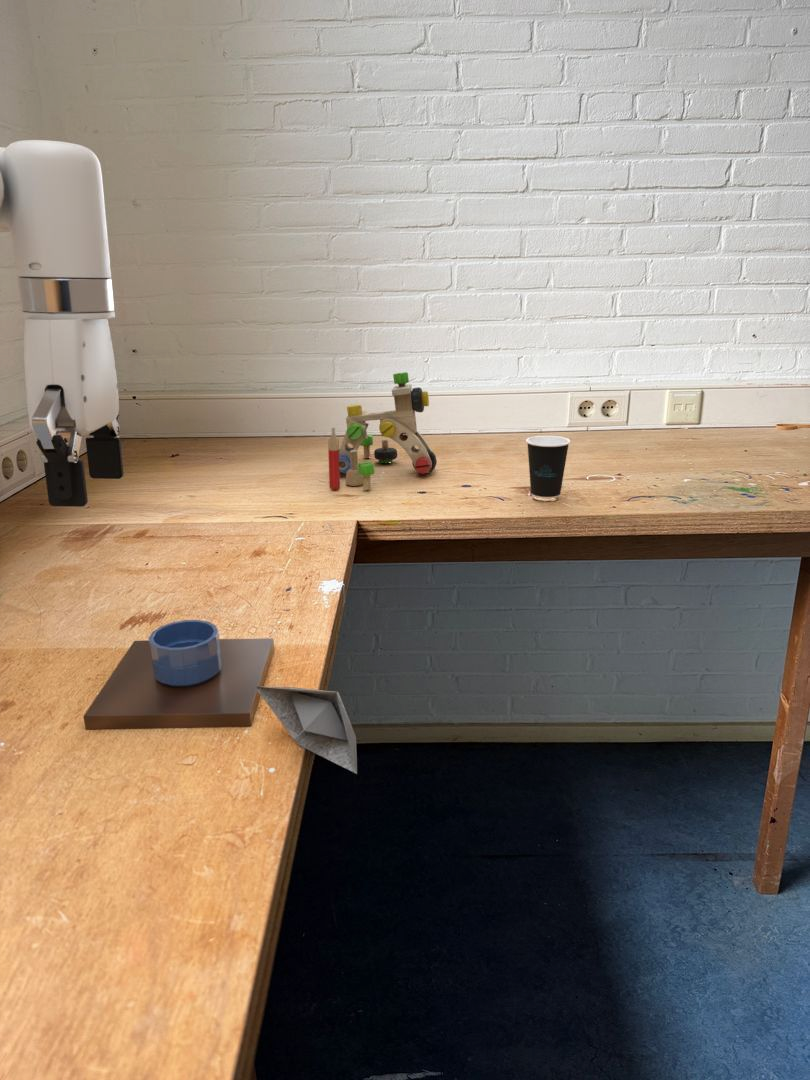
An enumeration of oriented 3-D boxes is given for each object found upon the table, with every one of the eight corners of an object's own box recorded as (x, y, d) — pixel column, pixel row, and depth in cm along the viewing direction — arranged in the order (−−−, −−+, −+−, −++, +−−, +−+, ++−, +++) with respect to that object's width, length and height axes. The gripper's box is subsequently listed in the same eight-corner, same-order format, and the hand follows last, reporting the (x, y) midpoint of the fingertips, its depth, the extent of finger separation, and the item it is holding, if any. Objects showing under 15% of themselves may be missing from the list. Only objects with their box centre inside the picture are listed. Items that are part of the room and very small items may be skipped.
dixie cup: (536, 506, 143) (539, 446, 140) (516, 494, 150) (518, 437, 147) (575, 501, 146) (578, 442, 142) (553, 490, 153) (556, 434, 149)
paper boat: (396, 723, 75) (371, 755, 66) (358, 773, 76) (328, 812, 67) (298, 644, 77) (260, 665, 68) (262, 695, 78) (220, 723, 69)
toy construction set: (388, 499, 149) (386, 388, 142) (291, 484, 159) (285, 380, 152) (453, 467, 171) (453, 369, 164) (364, 456, 181) (361, 363, 174)
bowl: (146, 690, 81) (140, 650, 79) (164, 658, 87) (159, 620, 86) (214, 689, 81) (209, 648, 79) (227, 657, 87) (223, 619, 86)
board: (85, 729, 77) (83, 716, 77) (135, 652, 92) (134, 640, 92) (251, 726, 77) (249, 713, 77) (274, 649, 92) (273, 638, 92)
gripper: (63, 296, 77) (82, 468, 83) (-26, 303, 61) (6, 517, 66) (141, 297, 77) (155, 469, 83) (73, 305, 61) (96, 518, 67)
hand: (89, 490), depth 75 cm, fingers open, 9 cm apart
